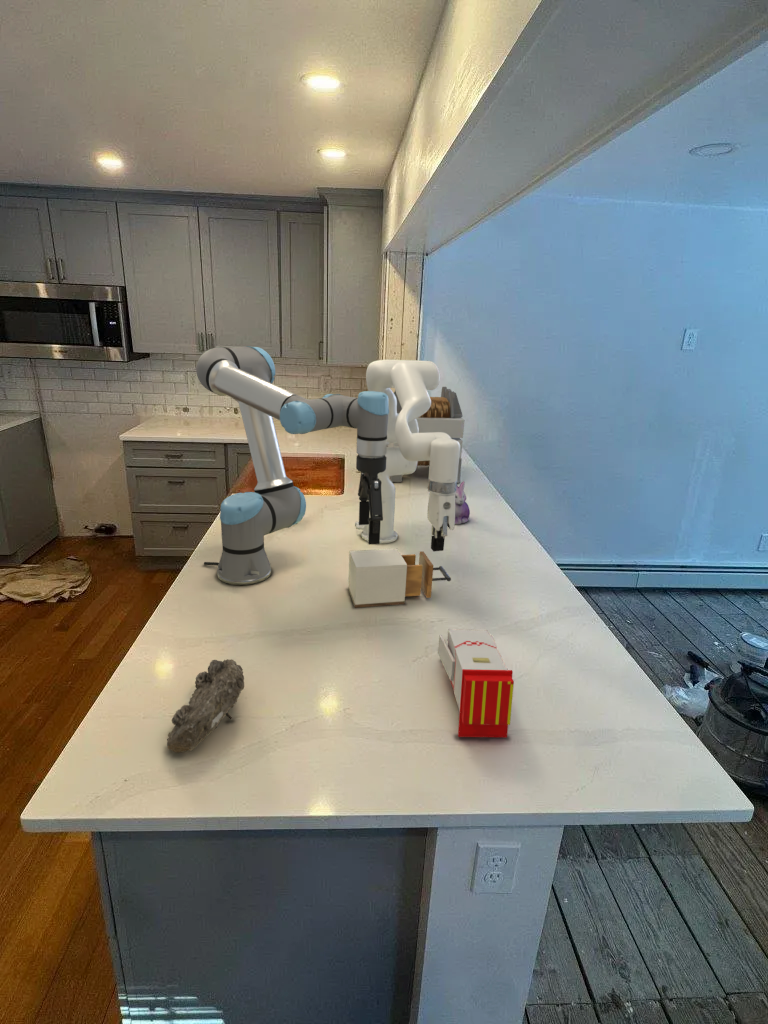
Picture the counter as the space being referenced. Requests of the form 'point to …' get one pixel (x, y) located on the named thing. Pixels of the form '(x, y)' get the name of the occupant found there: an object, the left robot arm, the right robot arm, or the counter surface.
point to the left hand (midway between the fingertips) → (368, 533)
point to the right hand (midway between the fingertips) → (437, 549)
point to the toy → (478, 682)
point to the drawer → (421, 575)
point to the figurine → (461, 505)
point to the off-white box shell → (377, 577)
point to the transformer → (439, 423)
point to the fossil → (206, 705)
